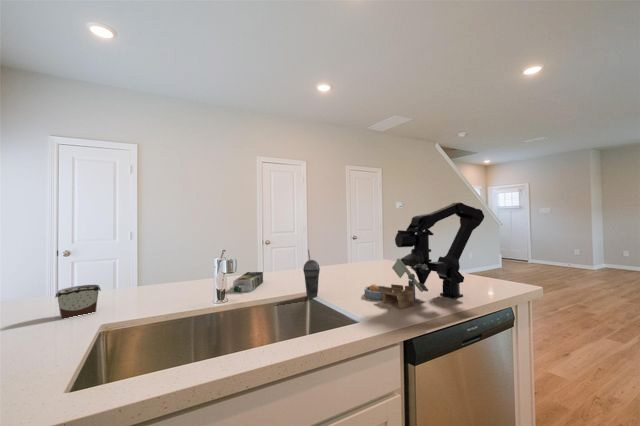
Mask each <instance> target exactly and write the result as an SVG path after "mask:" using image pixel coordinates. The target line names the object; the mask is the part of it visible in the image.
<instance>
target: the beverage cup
mask: <svg viewBox="0 0 640 426" xmlns="http://www.w3.org/2000/svg"><path fill="white" fill-rule="evenodd" d="M307 253H308V260H307V261H306V262H305V263H304V265H303V268H302V270H303V275H304V282H305V289H306V290H305V291H306V297H307V298H309V299H315V298H318V293H319V277H320V276H319V275H320V271H321V267H320V265H319V263H318V262H317V261H316V259H315V260H314V259H311V255H310V250H309V249H307Z"/></svg>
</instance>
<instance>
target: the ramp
mask: <svg viewBox="0 0 640 426" xmlns="http://www.w3.org/2000/svg"><path fill="white" fill-rule="evenodd" d="M380 286H381V287H380V293H382V294H383V300H382V302H383V303H389V302H393V301H394V302H395V301H397V307H398V309H406V308H410V307H414V306H415V303H414V295H413V291H414V290H413V286H409V285H402V284H390V286H385V287H383V286H384V285H380Z"/></svg>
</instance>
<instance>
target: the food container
mask: <svg viewBox="0 0 640 426" xmlns="http://www.w3.org/2000/svg"><path fill="white" fill-rule="evenodd" d="M99 291H101V287H100V285H99V284H83V285H75V286H71V287H66V288H62V289H60V290H58V291H56V293H55V296H54V298H57V303H58V309H59V315H60V320H61V319H63V320H65V319H64V318H68V319H70V318H69V317H73V316H77V317H79V316H78V315H82V316H84V315H83V314H87V315H89V314H88V313H92V312H96V313H97V307H98V299H99V298H98V297H99ZM92 314H93V313H92ZM73 318H74V317H73Z"/></svg>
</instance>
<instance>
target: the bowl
mask: <svg viewBox="0 0 640 426" xmlns="http://www.w3.org/2000/svg"><path fill="white" fill-rule="evenodd" d="M370 286H371V285H368V286H365V288H364V296H365V297H366V298H367V299H371V300H374V301H375V300H377V301H383V294H382V293H380V287H381V286H383V287H386V286H385V285H377V286H378V288H379V291H378V292H372V291H369V287H370Z"/></svg>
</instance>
